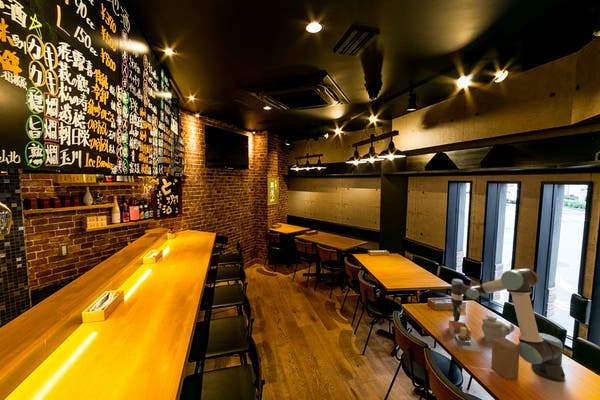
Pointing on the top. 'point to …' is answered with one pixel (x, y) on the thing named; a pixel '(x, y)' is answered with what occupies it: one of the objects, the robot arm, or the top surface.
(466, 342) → the socket
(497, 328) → the teapot
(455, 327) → the housing
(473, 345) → the board
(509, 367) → the wooden block
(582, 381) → the top surface
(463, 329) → the peg
